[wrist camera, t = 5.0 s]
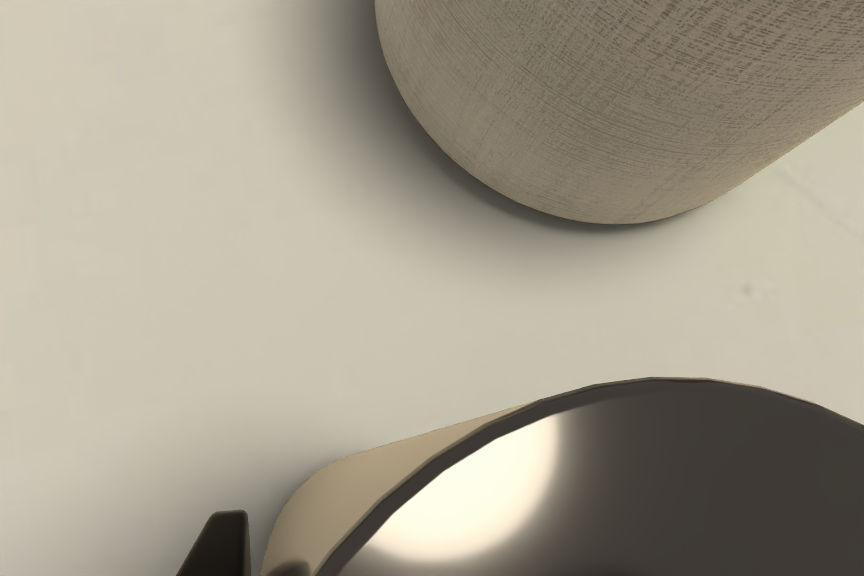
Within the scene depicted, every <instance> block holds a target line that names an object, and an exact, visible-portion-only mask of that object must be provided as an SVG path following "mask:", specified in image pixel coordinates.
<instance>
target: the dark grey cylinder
mask: <svg viewBox="0 0 864 576" xmlns="http://www.w3.org/2000/svg"><path fill="white" fill-rule="evenodd" d="M259 576H864V425H863V424H860V423H858V422H856V421H854V420H851V419H849V418H847V417H845V416H843V415H840V414H838V413H836V412H834V411H831V410H829V409H827V408H825V407H823V406H820V405H818V404H816V403H814V402H811V401H808V400H804V399H801V398H798V397H794V396H791V395H788V394H784V393H781V392H778V391H774V390H771V389H768V388H764V387H761V386H756V385H749V384H743V383H736V382H730V381H723V380H717V379H711V378H686V377H647V378H639V379H632V380H624V381H616V382H608V383H601V384H594V385H590V386H587V387H583V388H580V389H576V390H573V391H569V392H565V393H562V394H558V395H555V396H551V397H547V398H544V399H540V400H537V401H533V402H530V403H526V404H523V405H520V406H516V407H513V408H509V409H506V410H503V411H499V412H496V413H492V414H489V415H486V416H482V417H479V418H475V419H472V420H469V421H465V422H462V423H458V424H455V425H451V426H448V427H445V428H441V429H438V430H434V431H431V432H428V433H424V434H421V435H417V436H414V437H411V438H407V439H404V440H400V441H397V442H393V443H390V444H387V445H383V446H380V447H376V448H373V449H370V450H366V451H363V452H359V453H356V454H353V455H349V456H346V457H343V458H341V459H339V460H336V461H334V462H332V463H330V464H329V465H327V466H325V467H323V468H322V469H320V470H319V471H317V472H316V473H315V474H313V475H312V476H311V477H310V478H308V479H307V480H306V481H305V482H304V483H303V484H302V485H301V486H300V487H299V488H298V489H297V490H296V491H295V493H294V494H293V495H292V496H291V498H290V499H289V500H288V502H287V503H286V504H285V506H284V508H283V510H282V511H281V513H280V515H279V516H278V518H277V521H276V523H275V525H274V528H273V530H272V532H271V536H270V539H269V542H268V546H267V549H266V553H265V557H264V560H263V564H262V568H261V571H260V575H259Z"/></svg>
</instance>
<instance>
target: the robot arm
mask: <svg viewBox="0 0 864 576" xmlns="http://www.w3.org/2000/svg"><path fill="white" fill-rule="evenodd" d="M176 576H251V555H250V541H249V526H248V516H247V513H246V512H245V511H244V510H232V511H220V512H215V513H214V514H212V515H211V516H210V518H209V519H208V521H207V523H206V524H205V526H204V528H203V530H202V531H201V533H200V535H199V537H198V538H197V540H196V542H195V543H194V545H193V547H192V549H191V550H190V552H189V554H188V556H187V557H186V559H185V561H184V563H183V564H182V566H181V568H180V569H179V571H178V573H177V575H176Z"/></svg>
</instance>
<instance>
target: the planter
mask: <svg viewBox="0 0 864 576" xmlns="http://www.w3.org/2000/svg"><path fill="white" fill-rule="evenodd" d="M375 13H376V22H377V29H378V34H379V39H380V44H381V47H382V50H383V54H384V57H385V60H386V62H387V65H388V68H389V70H390V73H391V75H392V77H393V79H394V82H395V84H396V86H397V88H398V90H399V92H400V94H401V96H402V97H403V99H404V101H405V103H406V104H407V106H408V108H409V109H410V110H411V112H412V113H413V115H414V116H415V118H416V119H417V121H418V122H419V123H420V124H421V126H422V127H423V128H424V129H425V131H426V132H427V133H428V134H429V136H430V137H431V138H432V139H433V140H434V141H435V142H436V143H437V144H438V145H439V147H440V148H441V149H442V150H443V151H444V152H445V153H446V154H447V155H449V156H450V157H451V158H452V159H453V160H454V161H455V162H456V163H457V164H459V165H460V166H461V167H462V168H464V169H465V170H466V171H467V172H469V173H470V174H471V175H473V176H474V177H476V178H477V179H478V180H480V181H481V182H483V183H484V184H486V185H487V186H489V187H491V188H492V189H494V190H496V191H497V192H499V193H501V194H502V195H504V196H506V197H508V198H510V199H512V200H514V201H516V202H518V203H521V204H523V205H526V206H528V207H530V208H533V209H536V210H539V211H542V212H545V213H548V214H551V215H555V216H558V217H562V218H566V219H570V220H576V221H581V222H588V223H599V224H630V223H642V222H649V221H655V220H659V219H663V218H667V217H670V216H673V215H676V214H679V213H682V212H685V211H688V210H691V209H694V208H696V207H699V206H701V205H703V204H706V203H708V202H710V201H713V200H714V199H716V198H718V197H720V196H722V195H723V194H725V193H727V192H728V191H730V190H732V189H733V188H735V187H736V186H738V185H739V184H741V183H742V182H744V181H746V180H747V179H749V178H750V177H752V176H753V175H755V174H756V173H758V172H759V171H761V170H762V169H764V168H765V167H767V166H768V165H770V164H771V163H773V162H774V161H776V160H777V159H779V158H780V157H782V156H783V155H785V154H786V153H788V152H789V151H791V150H792V149H794V148H795V147H797V146H798V145H800V144H801V143H803V142H804V141H806V140H807V139H809V138H810V137H812V136H813V135H815V134H816V133H817V132H819V131H820V130H822V129H823V128H825V127H826V126H828V125H829V124H831V123H832V122H834V121H835V120H837V119H838V118H840V117H841V116H843V115H844V114H846V113H847V112H849V111H850V110H852V109H853V108H855V107H856V106H858V105H859V104H861V103H862V102H864V0H375Z"/></svg>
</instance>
